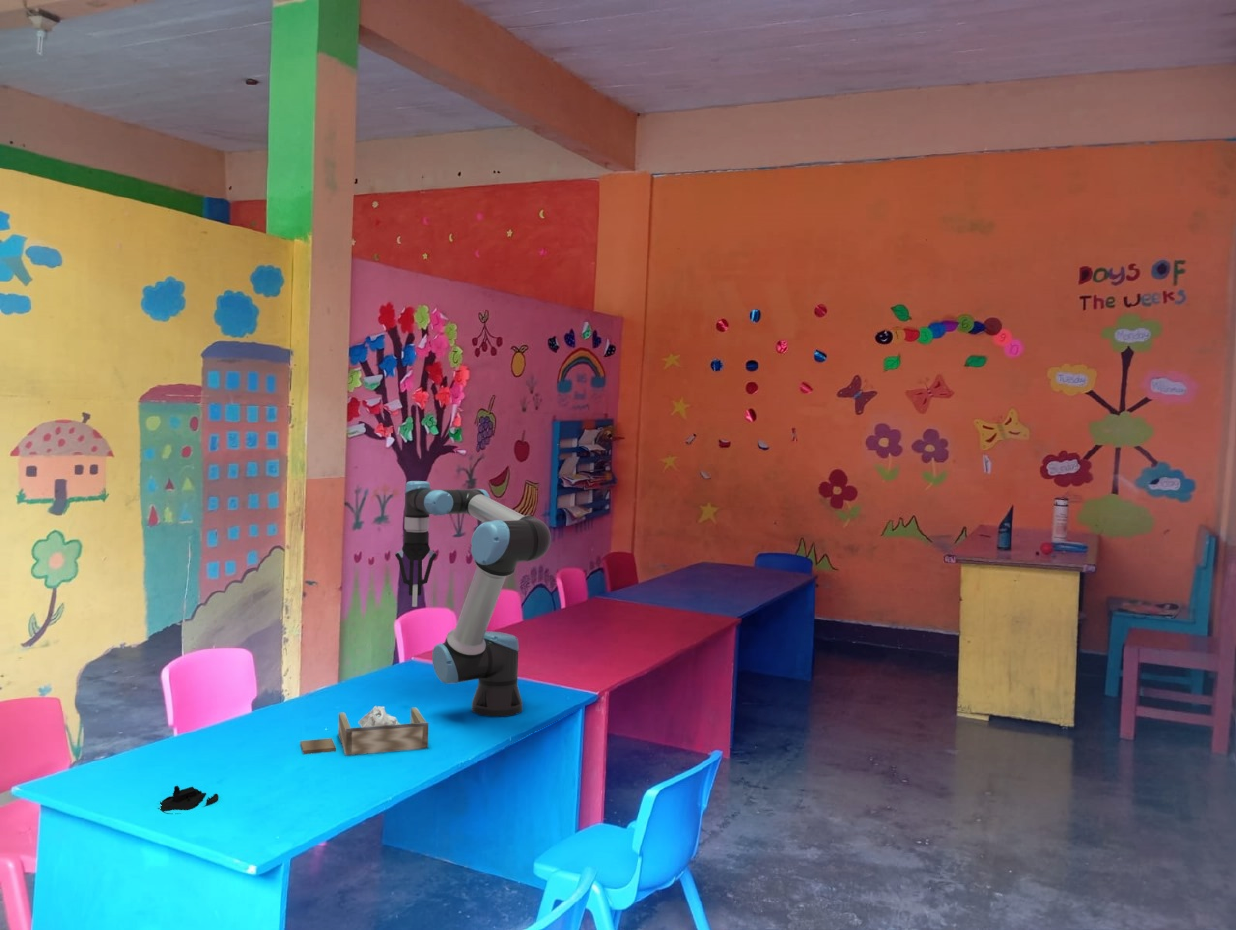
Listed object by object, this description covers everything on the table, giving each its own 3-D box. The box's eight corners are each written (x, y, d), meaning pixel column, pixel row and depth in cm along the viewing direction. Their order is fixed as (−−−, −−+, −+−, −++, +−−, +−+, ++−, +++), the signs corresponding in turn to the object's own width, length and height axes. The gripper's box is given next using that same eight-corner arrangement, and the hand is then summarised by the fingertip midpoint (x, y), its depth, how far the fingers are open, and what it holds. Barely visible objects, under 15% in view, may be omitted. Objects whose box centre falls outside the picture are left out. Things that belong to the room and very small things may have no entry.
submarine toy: (173, 820, 211) (174, 797, 210) (147, 808, 216) (147, 786, 216) (223, 803, 221) (224, 781, 220) (197, 793, 226) (197, 771, 226)
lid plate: (331, 743, 263) (331, 738, 263) (335, 753, 256) (335, 747, 256) (300, 746, 260) (300, 741, 260) (303, 756, 253) (303, 750, 253)
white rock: (406, 734, 262) (380, 710, 260) (382, 759, 261) (356, 735, 259) (406, 721, 274) (381, 698, 272) (383, 745, 272) (358, 722, 271)
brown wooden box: (415, 728, 277) (416, 704, 277) (427, 748, 261) (428, 722, 260) (338, 734, 269) (339, 710, 269) (345, 755, 253) (346, 729, 253)
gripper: (437, 529, 314) (435, 603, 315) (395, 529, 311) (393, 603, 312) (438, 532, 307) (436, 607, 307) (395, 531, 304) (393, 608, 305)
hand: (414, 605), depth 310 cm, fingers closed
